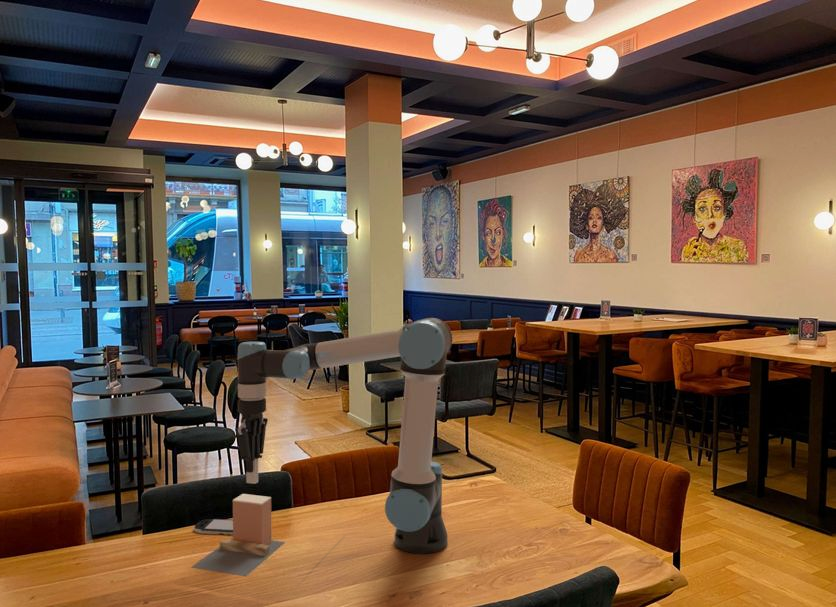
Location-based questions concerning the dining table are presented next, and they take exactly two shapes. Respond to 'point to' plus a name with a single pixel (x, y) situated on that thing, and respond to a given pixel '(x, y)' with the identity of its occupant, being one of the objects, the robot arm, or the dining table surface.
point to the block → (252, 519)
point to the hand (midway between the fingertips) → (252, 482)
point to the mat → (234, 560)
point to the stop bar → (244, 547)
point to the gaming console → (215, 526)
